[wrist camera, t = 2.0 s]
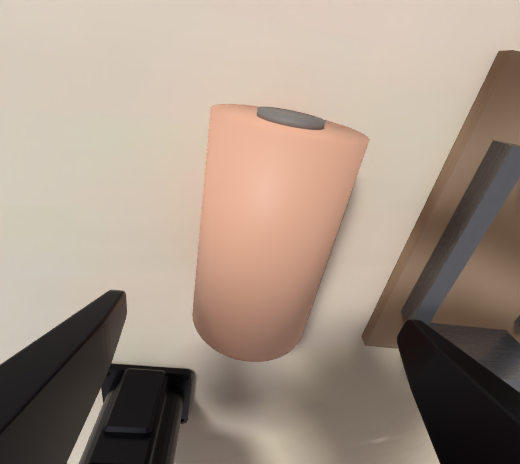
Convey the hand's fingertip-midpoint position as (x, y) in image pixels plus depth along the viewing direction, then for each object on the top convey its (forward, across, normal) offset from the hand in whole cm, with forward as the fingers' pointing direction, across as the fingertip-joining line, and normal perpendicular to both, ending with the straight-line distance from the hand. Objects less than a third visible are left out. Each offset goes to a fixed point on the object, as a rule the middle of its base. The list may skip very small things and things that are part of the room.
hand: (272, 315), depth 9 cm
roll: (+8, 0, 0) cm, 8 cm away
